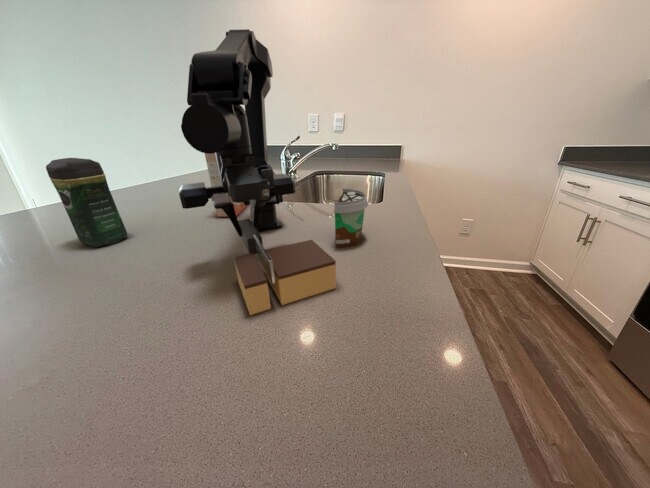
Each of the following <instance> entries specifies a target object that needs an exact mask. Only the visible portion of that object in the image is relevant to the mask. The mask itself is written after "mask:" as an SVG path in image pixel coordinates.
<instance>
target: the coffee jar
mask: <svg viewBox="0 0 650 488" xmlns="http://www.w3.org/2000/svg"><path fill="white" fill-rule="evenodd" d="M45 169H46V170H45V171H46V172H47V175H48V178H49V179H50V182H51V183H52V185H53V187H54V188H55V190H56V192H57V194H58V197H59V199H60V200H61V203H62V205H63V208H64V210H65V212H66V214H67V216H68V219H69V220H70V223H71V226H72V227H73V230H74V232H75V234H76V236H77V239H78V241H79V242H80V243H81V244H82V245H85V246H88V247H95V248H96V247H97V248H98V247H101V246H106V245H112V244H116V243H118V242H120V241H121V240H123V239H125V238H127V237H128V232H127V229H126V226H125V224H124V221H123V219H122V216H121V214H120V212H119V210H118V207H117V204H116V202H115V200H114V198H113V195H112V193H111V189H110V187H109V184H108V181H107V177H106V173H105V172H104V170H103V168H102V165H101V164H100V162H99V161H95V160H93V159H91V158H81V157H79V158H78V157H65V158H57V159H52V160H51V161H50V162H49V163H47V164H46V165H45Z"/></svg>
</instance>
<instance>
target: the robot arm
mask: <svg viewBox="0 0 650 488" xmlns="http://www.w3.org/2000/svg"><path fill="white" fill-rule="evenodd" d="M272 64H273V63H272V59H271V56H270V51H269V50H268V48H267V46H265V45H264V44H263V43H262V42H260V40H258V39H257V38H256V35H255V32H254V30H250V29H249V28H248V29H244V28H243V29H229V30H228V31H226V32H225V36H224V39H223V40H222V41H221V43H219V45H218V46H217V48H216V49H213V50H207V51H200V52H196V53H195V52H194V53H193V55H192V57H191V61H190V64H189V66H188V67H189V68H188V69H189V70H188V83H187V95H186V103H187V105H188V106H189V107H187V108H186V110H184V113H183V115H182V117H181V118H182V119H181V124H180V128H181V132H182V134H183V135H182V136H183V138H184V139H185V141H186V142H187V144H189V145H190V146H191V148H193V149H194V150H196V151H197V152H200V153H203V154H205V153H207V154H212V153H215V154H216V159H217V164H218V169H219V174H220V179H221V184H222V186H214V187H211V186H207V187H206V185H205V182H204V181H203V182H194V183H184V184H183V183H182V184H181V186H180V187H179V188H178V196H179V200H180V203H181V207H182V209H185V210H186V209H187V210H188V209H196V208H201V207H205V206H207V204H208V202H209V201H210V199H211V202H212V205H213V208H214V210H216V209H222V210H223V211H224V212H225V213H226V215H227V216H228V217H227V218H228V219H229V220H230V222H231V224H232V225H233V227H234V229H235V231H236V233H237V235H238V236H239V237H240V236H242V235H241V229H240V226H239V223H238V221H239V220H238V217H237V216H238V215H237V216H236V213H235V210H234V206H233V203H232V202H231V200H232V201H233V202H235V203H241V202H244V205H247V206H249V209H250V221H251V222H252V224H253V225H254V227H255V228H256V229H257V231H258V232H262V231H266V230H272V229H277V228H281V227H282V225H283V224H281V222H280V221H279V220H278V216H277V207H276V205H280V204H281V203H284V197H283V196H285V195H286V196H287V195H292V194H295V193H296V182H295V180H294V179H293V178H292V177H291V176H289V175H287V174H284V173H275V171H274V169H273V167H272V166H271V165H270V164H269V160H268V158H269V157H268V143H267V142H268V141H267V139H268V138H267V121H266V104H265V100H266V97H267V96H268V94H269V92H270V90H271V87H272V86H271V85H272V82H271V78H273V77H274V76H273V75H274V73H273V65H272ZM243 106H244V107H243ZM230 197H231V200H230V199H229V198H230Z"/></svg>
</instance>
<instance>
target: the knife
mask: <svg viewBox="0 0 650 488" xmlns="http://www.w3.org/2000/svg"><path fill="white" fill-rule="evenodd" d="M238 223H239V226H240V229H241V235H242V236H239V238H240V240H241V241H242V243H243V245H244V247H245V248H246V251H247V254H249V253H253V255H254V256H255V255H256V257H257V259H258V261H259V263H260V264H261V266H262V268H263V269H264V272H265V271H266V273H267V275H268V277H269V278H270V280H271V282H272V284H274V283H275V278H274V270H273V262H272V259H271V258H270V256H269V255H268V253H267V252H266V250H267V249H266V248H265V247H264V243H263V237H262V235H261V234H260V231H257V229H256V228H255V227H254V225H253V224H252V222H251V218H245V219H240V220H238ZM266 273H265V274H266Z"/></svg>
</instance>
